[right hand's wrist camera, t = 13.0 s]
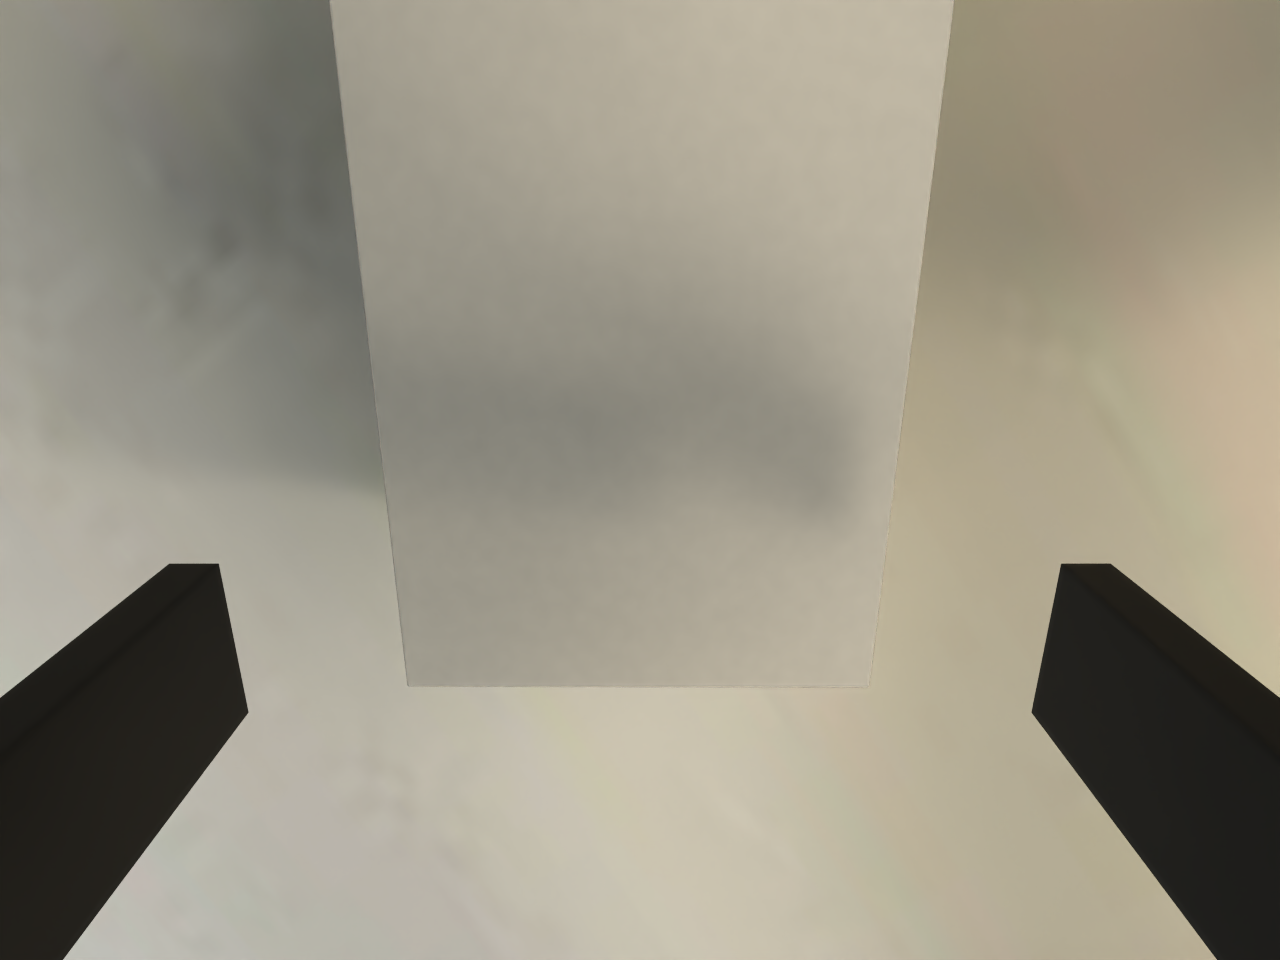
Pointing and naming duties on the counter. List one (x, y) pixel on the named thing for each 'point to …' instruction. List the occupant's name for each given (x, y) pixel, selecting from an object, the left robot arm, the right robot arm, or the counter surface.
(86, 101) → the counter surface
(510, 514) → the cabinet
